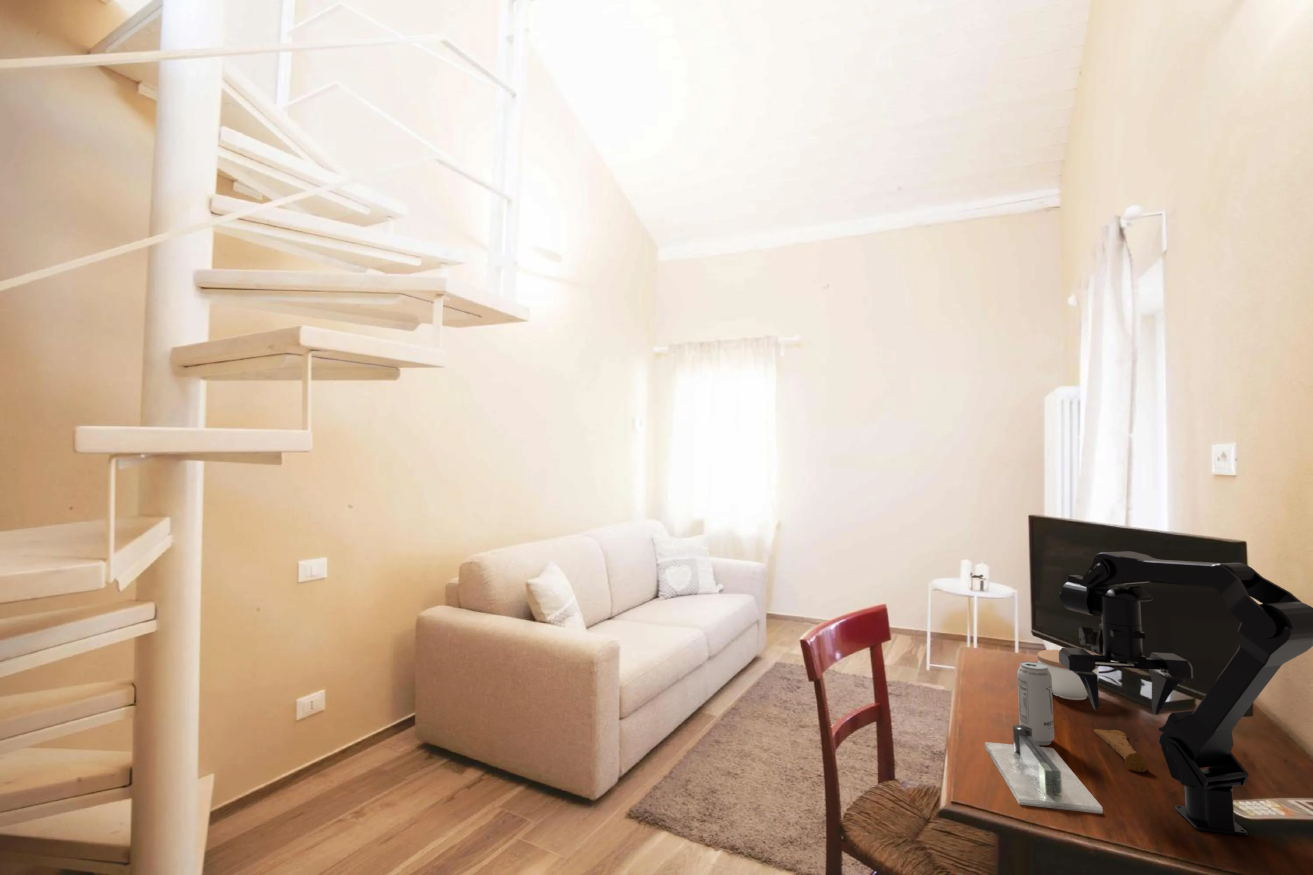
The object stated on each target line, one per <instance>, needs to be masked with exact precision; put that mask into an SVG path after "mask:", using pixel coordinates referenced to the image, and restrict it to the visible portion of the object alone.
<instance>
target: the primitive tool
mask: <svg viewBox="0 0 1313 875" xmlns="http://www.w3.org/2000/svg"><path fill="white" fill-rule="evenodd" d="M1093 732H1094V733H1095V735H1097V736H1099V737H1100V738H1101V739H1102V740H1104V742H1106V744H1108V746H1110V747H1111V749H1113V750H1114V751H1115V752H1116V753H1117V754H1118V755H1119V756H1121V758H1123V760H1124V766H1125V767H1126V768H1127V769H1128V770H1130V771H1133V772H1138V773H1145V772H1146V771H1147V770H1148V768H1149V762H1148V760H1147V759H1146V757H1145V756H1144V755H1143V754H1141V753H1139V752H1137V751H1136V750H1134V748H1133V746H1132V745H1131V743H1129V741H1128V738H1129V736H1128V735H1127V734H1126V733H1125V732H1123V731H1121V730H1116V729H1110V730H1107V729H1097V728H1094V729H1093Z"/></svg>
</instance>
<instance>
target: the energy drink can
mask: <svg viewBox="0 0 1313 875" xmlns="http://www.w3.org/2000/svg"><path fill="white" fill-rule="evenodd" d="M1047 668H1048V666H1047V665H1045V664H1042V663H1038V661H1037V662H1036V661H1022V662H1020V666H1019V668H1018V670H1017V673H1016V674H1017V675H1016V677H1017V695H1018V696H1017V699H1018V700H1017V702H1018V725H1024V726H1027V727H1030V728H1031V729H1032V737H1033V738H1034V739H1035V741H1036V742H1037V743H1038V744H1039V746H1049V745H1051V744H1052V741H1054V740H1055V728H1054V725H1055V724H1054V706H1053V705H1054V704H1053V694H1052V676H1051V674H1050V672H1049V671H1048V669H1047Z"/></svg>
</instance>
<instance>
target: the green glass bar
mask: <svg viewBox="0 0 1313 875" xmlns="http://www.w3.org/2000/svg"><path fill="white" fill-rule="evenodd" d="M1026 738H1027V739H1028V740H1029V741H1030V743H1031V744H1032V745H1033V747H1034V748H1035V749H1036V751H1037V752H1038V753H1039V754H1040V756H1041V757H1042V758H1043V760H1044V761H1045V762H1046V763H1047V764H1048V766H1049V767H1050V768H1051V769H1052V771H1053V792H1056V793H1062V778H1061V771H1060V769H1059V768H1058V767H1057V766H1056V764H1054V763H1053V762H1052V761H1051V760H1050V758H1049V757H1048V756H1047V755H1046V753H1045V752H1044V751H1043V750H1042V748H1041V747H1042V746H1041V745H1039V744H1038V743H1037V742H1036V741H1035V739H1034V738H1033V737H1032V736H1028V735H1026Z"/></svg>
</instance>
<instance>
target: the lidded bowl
mask: <svg viewBox="0 0 1313 875" xmlns="http://www.w3.org/2000/svg"><path fill="white" fill-rule="evenodd" d="M1060 650H1061V649H1044V650H1040V651H1038V652H1037V660H1038V661H1037V663H1042V664H1045V665H1047V666H1048V668H1047V669H1048V671H1049V672H1050V674H1051V676H1052V693H1053V694H1052V695H1054V696H1056V697H1058V696H1059V697H1058V698H1061V699H1066V700H1071V701H1083V700H1086V699H1088V697H1089V696H1088V694H1087V691H1086V689H1085V687H1084V684H1083V682H1082V681H1081V679H1080V677H1079V676H1078V675H1077V674H1075V673H1074V672H1073V671H1071V670H1069V669H1067V668H1066V667H1065V666H1064V665H1062V664H1061V663H1060V662H1059V651H1060ZM1095 667H1096V668H1095V669H1094V670H1093V672H1094V673H1096V674H1097V675H1098V678H1099V676H1100V674H1099V672H1100V671H1099V670H1100V669H1099V667H1100V666H1095Z"/></svg>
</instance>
